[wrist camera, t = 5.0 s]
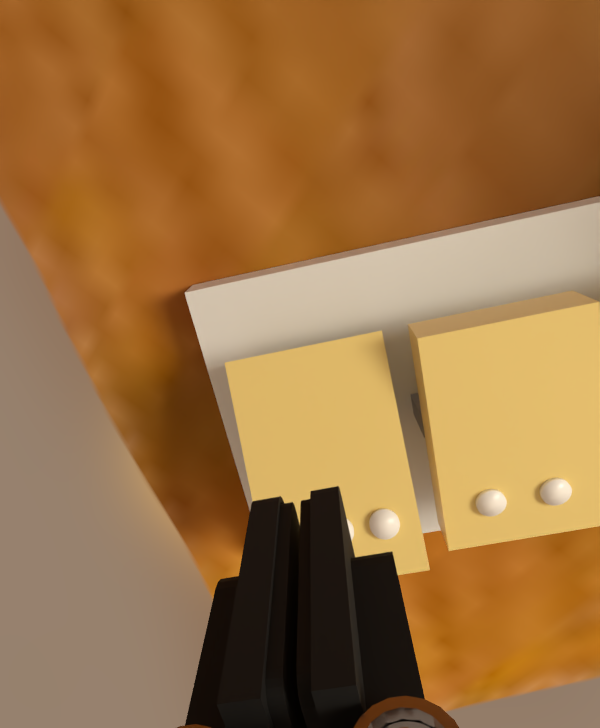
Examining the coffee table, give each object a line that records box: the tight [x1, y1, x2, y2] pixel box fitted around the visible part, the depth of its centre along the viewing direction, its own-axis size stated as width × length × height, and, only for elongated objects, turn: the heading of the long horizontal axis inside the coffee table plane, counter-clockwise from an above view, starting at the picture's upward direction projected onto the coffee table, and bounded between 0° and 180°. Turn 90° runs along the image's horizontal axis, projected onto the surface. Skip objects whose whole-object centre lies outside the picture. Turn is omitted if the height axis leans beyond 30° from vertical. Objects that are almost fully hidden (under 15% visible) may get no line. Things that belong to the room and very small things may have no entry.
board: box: [185, 196, 600, 533], centre depth 22 cm, size 14×23×4 cm, turn 102°
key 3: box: [225, 331, 430, 575], centre depth 20 cm, size 9×6×2 cm, turn 12°
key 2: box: [408, 291, 600, 551], centre depth 19 cm, size 9×6×2 cm, turn 12°
